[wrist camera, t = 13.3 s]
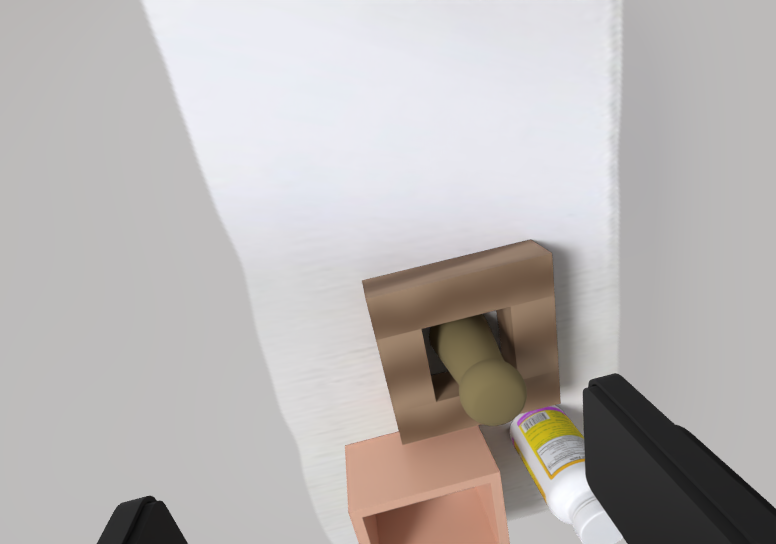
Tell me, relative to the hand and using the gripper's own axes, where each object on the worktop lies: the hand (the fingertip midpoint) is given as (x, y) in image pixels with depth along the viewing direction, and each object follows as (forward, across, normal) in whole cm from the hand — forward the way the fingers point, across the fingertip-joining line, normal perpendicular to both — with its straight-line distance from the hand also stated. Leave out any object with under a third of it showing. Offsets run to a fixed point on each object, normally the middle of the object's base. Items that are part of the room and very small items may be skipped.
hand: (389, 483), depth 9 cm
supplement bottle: (+28, -15, +29) cm, 43 cm away
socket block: (+28, -8, +15) cm, 33 cm away
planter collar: (+28, -1, +31) cm, 42 cm away
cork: (+28, -8, +15) cm, 33 cm away
